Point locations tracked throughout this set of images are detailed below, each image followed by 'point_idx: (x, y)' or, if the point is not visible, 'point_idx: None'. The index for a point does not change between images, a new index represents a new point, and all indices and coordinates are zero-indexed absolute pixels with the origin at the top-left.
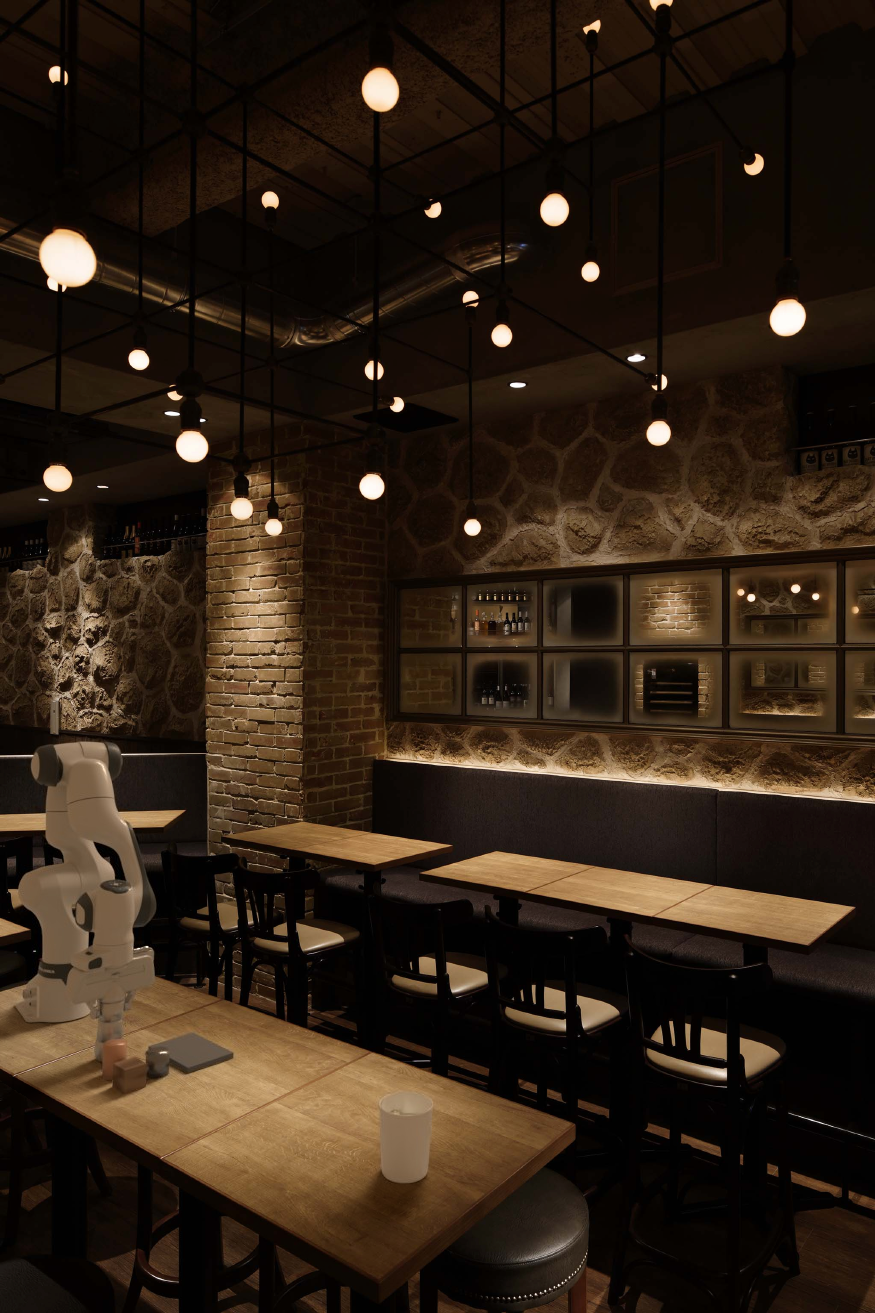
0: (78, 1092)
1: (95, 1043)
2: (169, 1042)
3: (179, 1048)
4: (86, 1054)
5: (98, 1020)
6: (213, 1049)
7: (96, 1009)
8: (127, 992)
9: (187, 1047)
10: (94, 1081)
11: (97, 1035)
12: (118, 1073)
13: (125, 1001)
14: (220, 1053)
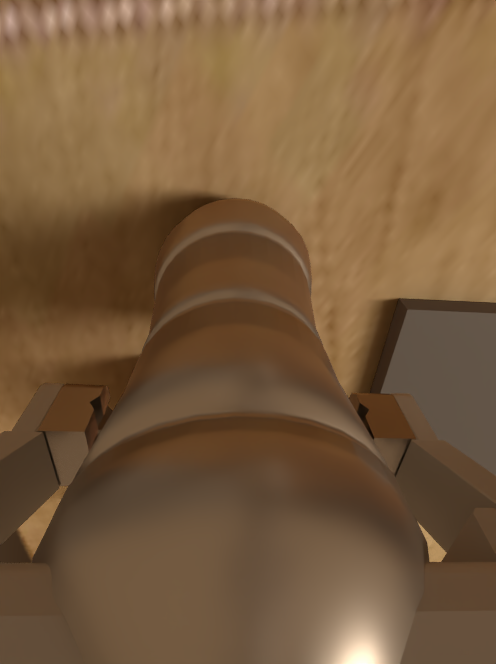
0: (22, 412)
1: (157, 269)
2: (484, 338)
3: (449, 406)
4: (189, 93)
5: (155, 329)
6: (493, 473)
7: (76, 452)
8: (466, 548)
9: (470, 416)
10: (97, 381)
11: (154, 304)
12: None
13: (408, 451)
14: None
